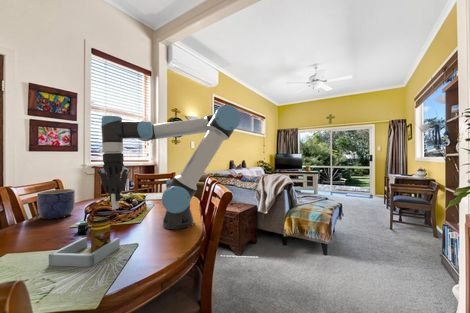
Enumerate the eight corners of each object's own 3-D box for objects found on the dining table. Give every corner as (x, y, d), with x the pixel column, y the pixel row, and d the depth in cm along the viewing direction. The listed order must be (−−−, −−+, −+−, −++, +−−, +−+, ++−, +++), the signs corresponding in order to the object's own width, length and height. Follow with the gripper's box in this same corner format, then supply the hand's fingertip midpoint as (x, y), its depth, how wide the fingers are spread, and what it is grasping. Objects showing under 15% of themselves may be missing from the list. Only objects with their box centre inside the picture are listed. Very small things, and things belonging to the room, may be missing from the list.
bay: (119, 247, 79) (119, 238, 79) (91, 266, 65) (91, 255, 65) (84, 246, 80) (84, 237, 80) (48, 265, 66) (48, 254, 66)
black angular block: (88, 237, 90) (88, 226, 90) (68, 239, 87) (68, 229, 87) (95, 228, 102) (95, 219, 102) (77, 230, 99) (77, 220, 99)
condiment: (105, 254, 73) (105, 221, 73) (80, 256, 72) (79, 222, 72) (115, 245, 80) (115, 215, 80) (92, 247, 79) (92, 216, 79)
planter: (37, 216, 120) (37, 191, 120) (73, 211, 132) (73, 188, 132) (37, 223, 108) (36, 194, 108) (76, 216, 119) (76, 191, 119)
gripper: (133, 152, 90) (135, 206, 90) (104, 153, 90) (106, 206, 91) (122, 152, 82) (125, 210, 82) (91, 153, 83) (94, 211, 83)
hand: (115, 208), depth 86 cm, fingers closed
